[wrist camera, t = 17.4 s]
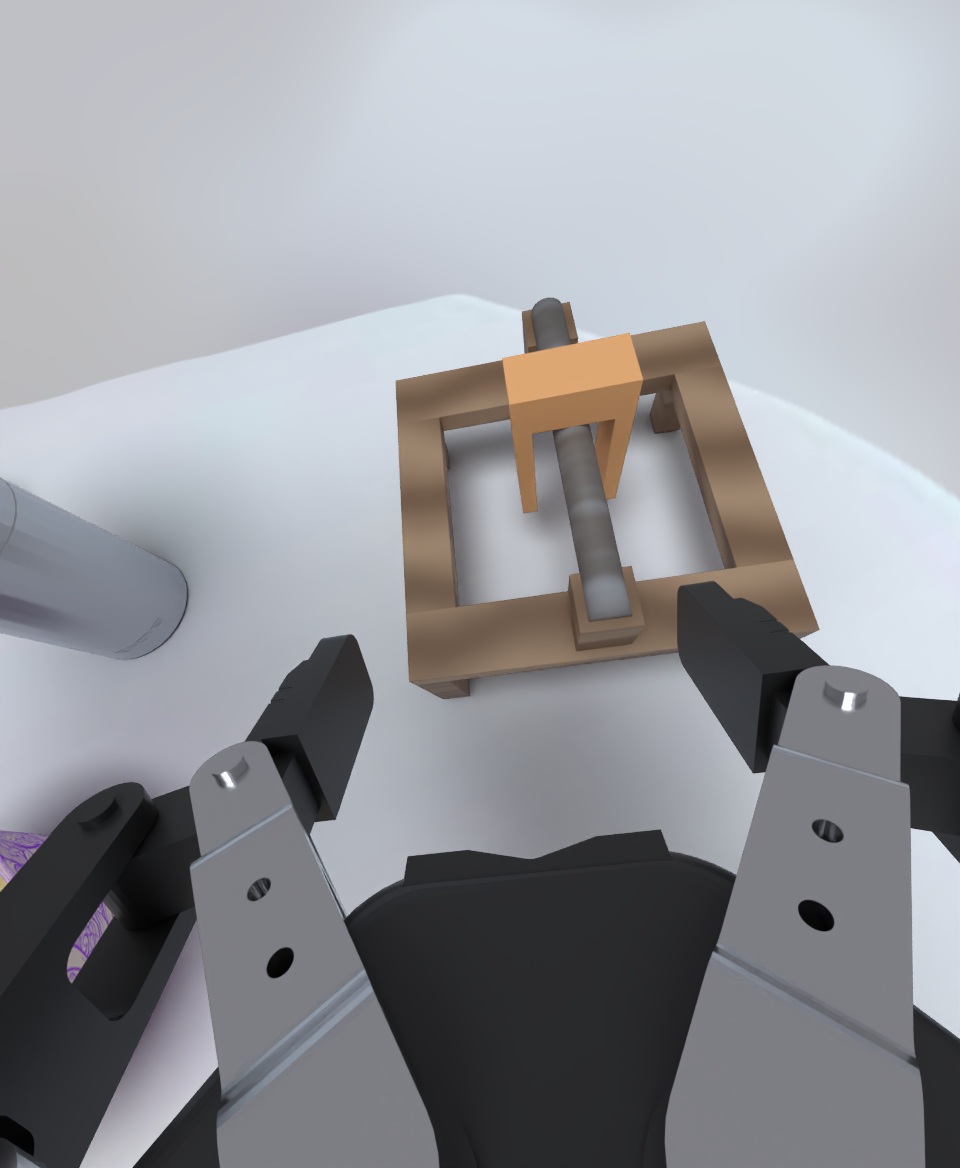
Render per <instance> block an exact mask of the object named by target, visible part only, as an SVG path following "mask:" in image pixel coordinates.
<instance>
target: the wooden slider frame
mask: <svg viewBox="0 0 960 1168" xmlns="http://www.w3.org/2000/svg"><path fill="white" fill-rule="evenodd" d="M522 322H523V337H524V351H525V354H526V353H531V352H536V351H541V350H546V349H552V348H557V347H562V346H567V345H572V344H577V343H578V336H577V332H576V327H575V323H574V319H573V315H572V310H571V306H570V302H567V303H562V304H561V302H560V301H559V300H557V299H555V298H545V299H542V300H540V301H539V302H537V304H535V306H534V307H533V309H532V310H528V311H523V312H522ZM631 339H632V343H633V346H634V350H635V353H636V356H637V360H638V363H639V367H640V370H641V374H642V377H643V383H642V387H641V391H640V395H639V396H642V395H648V394H653V393H656V395H655V398H654V402H653V405H652V409H651V412H650V418H651V422H652V425H653V429H654V432H655V434H657V433H663V432H669V431H675V430H679V428H680V427H681V430H682V433H683V436H684V439H685V443H686V446H687V449H688V452H689V456H690V459H691V462H692V465H693V468H694V472H695V475H696V478H697V481H698V484H699V488H700V491H701V494H702V497H703V500H704V504H705V507H706V510H707V513H708V516H709V520H710V523H711V526H712V529H713V532H714V536H715V539H716V542H717V545H718V548H719V552H720V555H721V558H722V561H723V565H724V568H725V569H723V570H716V571H709V572H702V573H695V574H688V575H681V576H674V577H667V578H660V579H652V580H645V581H638V582H635V579H634V574H633V570H632V566H627V567H621V563H620V558H619V554H618V550H617V545H616V541H615V536H614V532H613V527H612V523H611V519H610V514H609V510H608V505H607V501H606V496H605V492H604V488H603V483H602V479H601V474H600V470H599V466H598V461H597V457H596V452H595V448H594V443H593V439H592V435H591V430H590V426H589V424H584V425H578V426H573V427H567V428H562V429H556V430H553V436H554V441H555V446H556V451H557V457H558V462H559V467H560V472H561V478H562V483H563V488H564V493H565V499H566V504H567V509H568V514H569V520H570V525H571V530H572V536H573V541H574V546H575V551H576V557H577V562H578V567H579V572H580V573H579V574H572V575H570V576H569V586H568V591H567V592H560V593H553V594H546V595H539V596H532V597H525V598H518V599H511V600H503V601H496V602H489V603H482V604H475V605H468V606H461V607H459V598H458V586H457V575H456V563H455V552H454V541H453V529H452V518H451V507H450V495H449V484H448V473H447V469H449V460H448V450H447V447H446V444H445V439H444V431H447V430H453V429H458V428H464V427H470V426H475V425H481V424H486V423H492V422H497V421H503V420H509V419H510V413H509V406H508V398H507V390H506V383H505V375H504V368H503V360H501V361H496V362H491V363H486V364H481V365H475V366H470V367H465V368H460V369H455V370H449V371H444V372H439V373H434V374H429V375H423V376H418V377H413V378H408V379H403V380H397V381H396V400H397V422H398V444H399V467H400V489H401V511H402V533H403V556H404V578H405V600H406V623H407V645H408V667H409V682H411V683H413V684H415V685H417V686H419V687H421V688H423V689H425V690H427V691H429V692H431V693H432V694H434V695H436V696H438V697H440V698H442V699H449V698H457V697H465V696H470V693H469V682H468V679H469V678H477V677H485V676H493V675H501V674H509V673H517V672H525V671H533V670H541V669H549V668H557V667H565V666H573V665H581V664H589V663H597V662H605V661H613V660H621V659H629V658H637V657H645V656H653V655H661V654H669V653H677V652H678V646H677V592H678V588H679V587H680V586H681V585H688V584H695V583H701V582H708V581H715V582H716V583H718V584H719V585H720V586H721V587H722V588H723V589H724V590H725V591H726V592H727V593H728V594H729V595H730V596H731V597H732V598H733V599H735V598H744V599H746V600H748V601H751V602H753V603H755V604H758V605H760V606H762V607H764V608H765V609H766V610H767V611H768V612H769V613H771V614H772V615H773V616H774V617H775V618H776V619H777V621H778V622H781V623H782V624H783V625H784V626H785V627H787V628H788V629H789V632H790V633H791V632H792V633H793V634H795V635H796V636H797V637H798V638H799V639H801V638H803V637H805V636H807V635H809V634H811V633H814V632H816V631H818V630H820V629H819V627H818V624H817V621H816V619H815V616H814V613H813V611H812V608H811V605H810V603H809V600H808V597H807V594H806V592H805V589H804V586H803V584H802V581H801V578H800V576H799V573H798V570H797V568H796V565H795V562H794V560H793V557H792V554H791V551H790V549H789V546H788V543H787V541H786V538H785V535H784V533H783V530H782V527H781V525H780V522H779V519H778V516H777V514H776V511H775V508H774V506H773V503H772V500H771V498H770V495H769V492H768V490H767V487H766V484H765V482H764V479H763V476H762V473H761V471H760V468H759V465H758V463H757V460H756V457H755V455H754V452H753V449H752V447H751V444H750V441H749V439H748V436H747V433H746V430H745V428H744V425H743V422H742V420H741V417H740V414H739V412H738V409H737V406H736V404H735V401H734V398H733V395H732V393H731V390H730V387H729V385H728V382H727V379H726V377H725V374H724V371H723V369H722V366H721V363H720V361H719V358H718V355H717V353H716V350H715V347H714V344H713V342H712V339H711V336H710V334H709V331H708V328H707V326H706V323H705V322H699V323H694V324H689V325H683V326H678V327H673V328H668V329H663V330H658V331H652V332H647V333H642V334H637V335H631Z"/></svg>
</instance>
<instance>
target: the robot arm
mask: <svg viewBox="0 0 960 1168" xmlns="http://www.w3.org/2000/svg"><path fill="white" fill-rule="evenodd" d="M186 601H187V586H186V583H185V580H184V577H183V575H182V574H181V572H180V571H179V570H178V569H177V568H176V567H175V566H174V565H172V564H170V563H168V562H166V561H164V560H162V559H161V558H159V557H157V556H155V555H153V554H151V553H149V552H147V551H145V550H143V549H141V548H139V547H137V546H135V545H133V544H131V543H129V542H127V541H125V540H123V539H121V538H119V537H117V536H115V535H113V534H111V533H109V532H107V531H105V530H103V529H101V528H99V527H97V526H95V525H93V524H91V523H89V522H87V521H86V520H84V519H82V518H80V517H78V516H76V515H74V514H72V513H70V512H68V511H66V510H64V509H62V508H60V507H58V506H56V505H54V504H52V503H50V502H48V501H46V500H44V499H42V498H40V497H38V496H36V495H34V494H32V493H30V492H28V491H26V490H24V489H22V488H20V487H18V486H16V485H14V484H12V483H10V482H8V481H6V480H4V479H2V478H0V633H2V634H7V635H11V636H16V637H20V638H25V639H29V640H34V641H39V642H43V643H48V644H52V645H57V646H61V647H66V648H70V649H74V650H79V651H84V652H89V653H93V654H98V655H102V656H107V657H111V658H116V659H132V658H136V657H140V656H142V655H145V654H147V653H149V652H151V651H152V650H154V649H155V648H157V647H158V646H160V645H161V644H162V643H163V642H164V641H165V640H166V639H167V638H168V637H169V636H170V635H171V634H172V632H173V631H174V630H175V628H176V627H177V625H178V623H179V622H180V620H181V618H182V616H183V613H184V610H185V607H186ZM677 646H678V652H679V656H680V659H681V662H682V664H683V666H684V668H685V670H686V671H687V673H688V674H689V676H690V677H691V679H692V680H693V682H694V684H695V685H696V687H697V688H698V690H699V691H700V693H701V694H702V696H703V697H704V699H705V700H706V702H707V703H708V705H709V707H710V708H711V710H712V711H713V713H714V714H715V716H716V717H717V719H718V720H719V722H720V723H721V725H722V727H723V728H724V730H725V731H726V733H727V734H728V736H729V737H730V739H731V740H732V742H733V743H734V745H735V746H736V748H737V750H738V751H739V753H740V754H741V756H742V757H743V759H744V760H745V762H746V763H747V765H748V766H749V768H750V769H751V771H752V773H762V772H766V773H765V776H764V780H763V783H762V787H761V791H760V794H759V798H758V801H757V805H756V808H755V812H754V816H753V819H752V823H751V826H750V830H749V833H748V837H747V841H746V844H745V848H744V851H743V855H742V858H741V862H740V866H739V869H738V873H737V875H735V874H733V873H732V872H730V871H728V870H725V869H723V868H721V867H719V866H717V865H715V864H713V863H710V862H707V861H705V860H702V859H699V858H696V857H693V856H689V855H685V854H681V853H675V852H669V850H668V848H667V845H666V842H665V840H664V837H663V834H662V832H661V830H652V831H642V832H633V833H624V834H614V835H605V836H596V837H593V838H591V839H588V840H585V841H583V842H580V843H577V844H574V845H572V846H569V847H566V848H564V849H561V850H558V851H556V852H553V853H550V854H548V855H545V856H542V857H539V858H536V859H523V858H517V857H510V856H503V855H497V854H490V853H484V852H477V851H471V850H463V851H454V852H445V853H435V854H426V855H416V856H408V858H407V864H406V870H405V877H404V879H403V880H400V881H398V882H396V883H394V884H392V885H390V886H388V887H386V888H384V889H382V890H380V891H379V892H377V893H376V894H374V895H373V896H371V897H370V898H368V899H367V900H366V901H364V902H363V903H362V904H361V905H359V906H358V907H357V908H356V909H355V910H353V911H352V912H351V913H350V914H349V915H348V916H347V914H346V912H345V910H344V907H343V905H342V903H341V901H340V899H339V897H338V894H337V892H336V890H335V888H334V886H333V884H332V881H331V879H330V877H329V875H328V873H327V870H326V868H325V866H324V864H323V862H322V860H321V857H320V855H319V853H318V851H317V849H316V847H315V844H314V842H313V840H312V838H311V836H310V832H311V830H312V827H313V824H314V822H320V821H328V820H336V817H337V814H338V811H339V808H340V805H341V802H342V799H343V796H344V793H345V790H346V787H347V784H348V781H349V778H350V775H351V772H352V769H353V766H354V763H355V760H356V757H357V754H358V751H359V748H360V745H361V742H362V739H363V736H364V733H365V730H366V727H367V723H368V720H369V717H370V714H371V711H372V708H373V701H374V696H373V687H372V683H371V680H370V677H369V674H368V671H367V668H366V666H365V663H364V660H363V657H362V654H361V651H360V648H359V645H358V642H357V640H356V638H355V637H354V636H353V635H351V634H350V635H343V636H336V637H330V638H323V639H321V640H320V642H319V643H318V645H317V647H316V648H315V650H314V652H313V653H312V655H311V657H310V658H309V660H305V661H303V662H302V663H300V664H299V665H298V666H297V667H296V668H295V669H293V670H292V671H291V672H290V673H289V674H288V675H287V676H286V678H285V679H284V681H283V683H282V684H281V686H280V687H279V691H278V692H276V693H275V695H274V697H273V698H272V700H271V704H268V706H267V708H266V709H265V711H264V712H263V714H262V715H261V717H260V718H259V720H258V722H257V723H256V725H255V726H254V728H253V729H252V731H251V732H250V734H249V736H248V737H247V739H246V740H245V742H242V743H238V744H235V745H233V746H230V747H228V748H226V749H224V750H222V751H220V752H218V753H217V754H215V755H214V756H212V757H211V758H210V759H209V760H207V761H206V762H205V763H204V764H203V765H202V766H201V767H200V768H199V769H198V770H197V771H196V773H195V774H194V776H193V778H192V780H191V782H190V786H187V787H184V788H181V789H179V790H176V791H173V792H170V793H167V794H165V795H162V796H159V797H156V798H154V799H151V798H150V796H149V795H148V794H147V792H146V791H145V789H144V788H143V786H142V785H140V784H139V783H134V782H129V783H122V784H118V785H115V786H112V787H110V788H108V789H105V790H103V791H101V792H99V793H97V794H96V795H94V796H92V797H90V798H89V799H87V800H86V801H84V802H83V803H82V804H80V805H79V806H78V807H76V808H75V809H74V810H73V811H72V812H71V813H70V814H68V815H67V816H66V818H65V819H64V820H63V821H62V822H61V823H60V824H59V825H58V826H57V828H56V829H55V830H54V831H53V832H52V833H51V834H50V836H49V837H48V838H47V839H46V840H45V841H44V842H43V844H42V845H41V846H40V847H39V848H38V849H37V850H36V852H35V853H34V854H33V855H32V856H31V857H30V858H29V860H28V861H27V862H26V863H25V864H24V865H23V866H22V868H21V869H20V870H19V871H18V872H17V873H16V874H15V876H14V877H13V878H12V879H11V880H10V881H9V882H8V884H7V885H6V886H5V887H4V888H3V889H2V890H1V892H0V1168H79V1167H80V1165H81V1163H82V1160H83V1158H84V1156H85V1154H86V1152H87V1150H88V1148H89V1146H90V1143H91V1141H92V1139H93V1137H94V1135H95V1133H96V1131H97V1129H98V1127H99V1124H100V1122H101V1120H102V1118H103V1116H104V1114H105V1112H106V1110H107V1107H108V1105H109V1103H110V1101H111V1099H112V1097H113V1095H114V1093H115V1091H116V1088H117V1086H118V1084H119V1082H120V1080H121V1078H122V1076H123V1074H124V1072H125V1069H126V1067H127V1065H128V1063H129V1061H130V1059H131V1057H132V1055H133V1052H134V1050H135V1048H136V1046H137V1044H138V1042H139V1040H140V1038H141V1036H142V1033H143V1031H144V1029H145V1027H146V1025H147V1023H148V1021H149V1019H150V1016H151V1014H152V1012H153V1010H154V1008H155V1006H156V1004H157V1002H158V1000H159V997H160V995H161V993H162V991H163V989H164V987H165V985H166V983H167V980H168V978H169V976H170V974H171V972H172V970H173V968H174V966H175V964H176V961H177V959H178V957H179V955H180V953H181V951H182V949H183V947H184V945H185V942H186V940H187V938H188V936H189V934H190V932H191V930H192V928H193V925H194V923H195V921H196V919H197V922H198V929H199V936H200V943H201V949H202V956H203V963H204V970H205V977H206V984H207V991H208V997H209V1004H210V1011H211V1018H212V1025H213V1032H214V1039H215V1045H216V1052H217V1059H218V1068H217V1069H216V1070H215V1071H214V1072H213V1073H212V1075H211V1076H210V1077H209V1078H208V1079H207V1081H206V1082H205V1083H204V1084H203V1085H202V1086H201V1088H200V1089H199V1090H198V1091H197V1092H196V1094H195V1095H194V1096H193V1097H192V1098H191V1099H190V1101H189V1102H188V1103H187V1104H186V1105H185V1106H184V1108H183V1109H182V1110H181V1111H180V1112H179V1114H178V1115H177V1116H176V1117H175V1118H174V1119H173V1121H172V1122H171V1123H170V1124H169V1125H168V1126H167V1128H166V1129H165V1130H164V1131H163V1132H162V1134H161V1135H160V1136H159V1137H158V1138H157V1139H156V1141H155V1142H154V1143H153V1144H152V1145H151V1146H150V1148H149V1149H148V1150H147V1151H146V1152H145V1153H144V1155H143V1156H142V1157H141V1158H140V1159H139V1161H138V1162H137V1163H136V1164H135V1165H134V1166H133V1168H960V1039H959V1038H958V1037H956V1036H955V1035H954V1034H952V1033H951V1032H950V1031H948V1030H947V1029H946V1028H944V1027H943V1026H942V1025H940V1024H939V1023H938V1022H936V1021H935V1020H934V1019H932V1018H931V1017H930V1016H928V1015H927V1014H926V1013H924V1012H923V1011H921V1010H920V1009H919V1008H917V1007H916V1006H915V1005H913V971H912V900H911V828H913V829H919V830H925V831H932V832H933V833H934V834H935V836H936V837H937V838H938V839H939V840H940V841H941V842H942V844H943V845H944V846H945V847H946V848H947V849H948V850H949V852H950V853H951V854H952V855H953V856H954V857H955V858H956V860H957V861H958V862H959V863H960V694H959V697H958V700H957V701H951V700H938V699H924V698H911V697H901V696H899V695H898V693H897V692H896V691H895V690H894V689H893V688H892V687H891V686H890V685H889V684H888V683H886V682H884V681H883V680H881V679H880V678H878V677H876V676H874V675H871V674H869V673H866V672H863V671H860V670H857V669H853V668H848V667H842V666H830V665H829V664H828V663H826V662H825V661H824V660H823V659H822V658H821V657H820V656H818V655H817V654H816V653H815V652H814V651H813V650H812V649H810V648H809V647H808V646H807V645H806V644H805V643H804V642H803V641H801V640H800V639H799V638H798V637H797V636H796V635H795V634H793V633H792V632H791V633H790V632H789V629H788V628H787V627H785V626H784V625H783V624H782V623H781V622H778V621H777V619H776V618H775V617H774V616H773V615H772V614H771V613H769V612H768V611H767V610H766V609H765V608H764V607H762V606H760V605H758V604H755V603H753V602H751V601H748V600H746V599H744V598H735V599H733V598H732V597H731V596H730V595H729V594H728V593H727V592H726V591H725V590H724V589H723V588H722V587H721V586H720V585H719V584H718V583H716V582H715V581H708V582H701V583H695V584H688V585H681V586H680V587H679V588H678V592H677ZM102 902H103V903H104V904H105V905H106V906H107V908H108V909H109V910H110V911H111V912H112V914H113V915H114V917H113V918H112V920H111V922H110V923H109V925H108V926H107V928H106V930H105V931H104V933H103V934H102V936H101V938H100V939H99V941H98V942H97V944H96V946H95V947H94V949H93V950H92V952H91V954H90V955H89V957H88V958H87V960H86V962H85V963H84V965H83V966H82V968H81V970H80V971H79V973H78V974H77V976H76V978H75V979H74V981H73V982H72V984H71V982H70V981H69V978H68V975H67V964H68V959H69V955H70V952H71V950H72V948H73V945H74V944H75V942H76V940H77V939H78V937H79V936H80V934H81V933H82V931H83V930H84V928H85V927H86V925H87V924H88V922H89V921H90V919H91V918H92V916H93V915H94V913H95V912H96V910H97V909H98V907H99V906H100V904H101V903H102Z"/></svg>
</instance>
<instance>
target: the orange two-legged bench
mask: <svg viewBox="0 0 960 1168" xmlns="http://www.w3.org/2000/svg"><path fill="white" fill-rule="evenodd" d="M502 360H503V368H504V375H505V383H506V390H507V398H508V406H509V413H510V421H511V428H512V436H513V443H514V451H515V459H516V466H517V474H518V481H519V487H520V494H521V500H522V507H523V513H528V512H534V511H538V510H537V496H536V482H535V467H534V453H533V439H532V434H534V433H540V432H545V431H551V430H556V429H562V428H567V427H573V426H578V425H584V424H589V423H595V422H598V427H597V435H596V442H595V452H596V457H597V461H598V466H599V470H600V474H601V479H602V483H603V488H604V492H605V496H606V500H608V499H614V498H615V497H616V493H617V489H618V484H619V480H620V476H621V472H622V467H623V463H624V459H625V455H626V451H627V446H628V442H629V438H630V434H631V429H632V425H633V421H634V417H635V412H636V408H637V404H638V400H639V395H640V391H641V387H642V383H643V377H642V374H641V370H640V367H639V363H638V360H637V356H636V353H635V350H634V346H633V343H632V339H631V336H630V333H627V334H622V335H617V336H612V337H607V338H602V339H597V340H592V341H587V342H582V343H577V344H572V345H567V346H562V347H557V348H552V349H546V350H541V351H536V352H531V353H526V354H521V355H516V356H511V357H506V358H502Z"/></svg>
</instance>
